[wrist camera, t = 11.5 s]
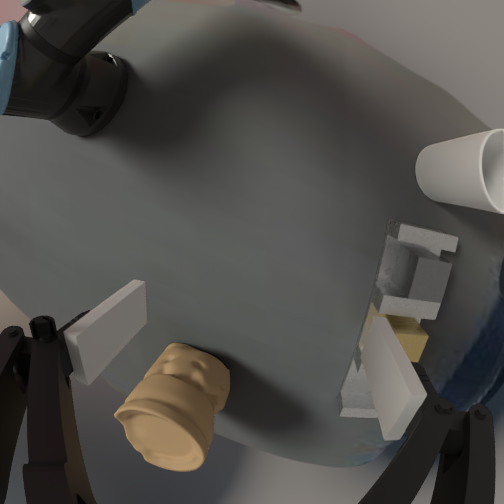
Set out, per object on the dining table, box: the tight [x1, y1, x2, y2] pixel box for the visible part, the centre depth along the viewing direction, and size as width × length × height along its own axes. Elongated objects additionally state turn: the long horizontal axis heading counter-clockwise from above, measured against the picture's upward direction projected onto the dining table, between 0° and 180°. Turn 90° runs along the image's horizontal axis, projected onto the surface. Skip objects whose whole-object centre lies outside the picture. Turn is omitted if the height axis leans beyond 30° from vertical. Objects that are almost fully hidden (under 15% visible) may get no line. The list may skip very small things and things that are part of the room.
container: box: [114, 343, 230, 471], centre depth 37 cm, size 13×13×18 cm
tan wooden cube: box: [380, 314, 429, 363], centre depth 34 cm, size 5×5×7 cm
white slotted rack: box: [337, 219, 459, 418], centre depth 35 cm, size 30×9×8 cm, turn 173°
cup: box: [415, 129, 504, 214], centre depth 25 cm, size 8×8×16 cm
